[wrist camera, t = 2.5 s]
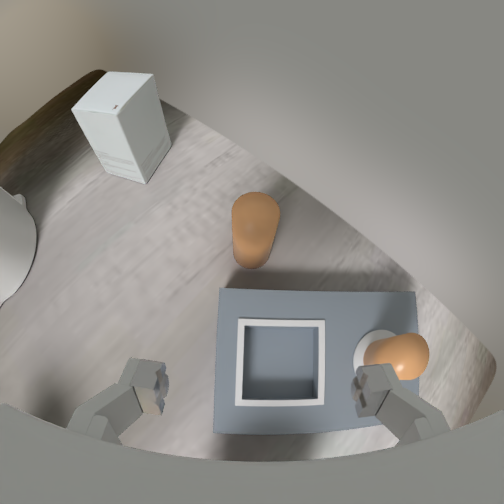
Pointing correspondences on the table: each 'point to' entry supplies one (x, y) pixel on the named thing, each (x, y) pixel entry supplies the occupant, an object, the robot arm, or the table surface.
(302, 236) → the table surface
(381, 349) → the grey peg board
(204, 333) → the table surface
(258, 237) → the orange smooth rounded part
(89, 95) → the supplement box
